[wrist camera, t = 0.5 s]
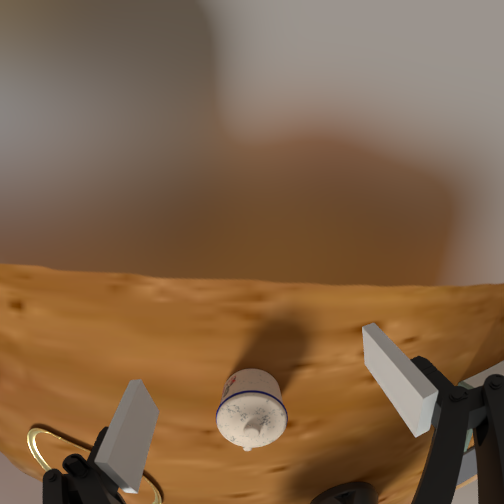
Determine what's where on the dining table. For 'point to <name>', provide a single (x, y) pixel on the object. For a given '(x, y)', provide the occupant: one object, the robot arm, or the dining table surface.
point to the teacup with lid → (251, 409)
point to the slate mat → (468, 466)
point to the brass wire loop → (36, 454)
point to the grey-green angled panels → (477, 381)
